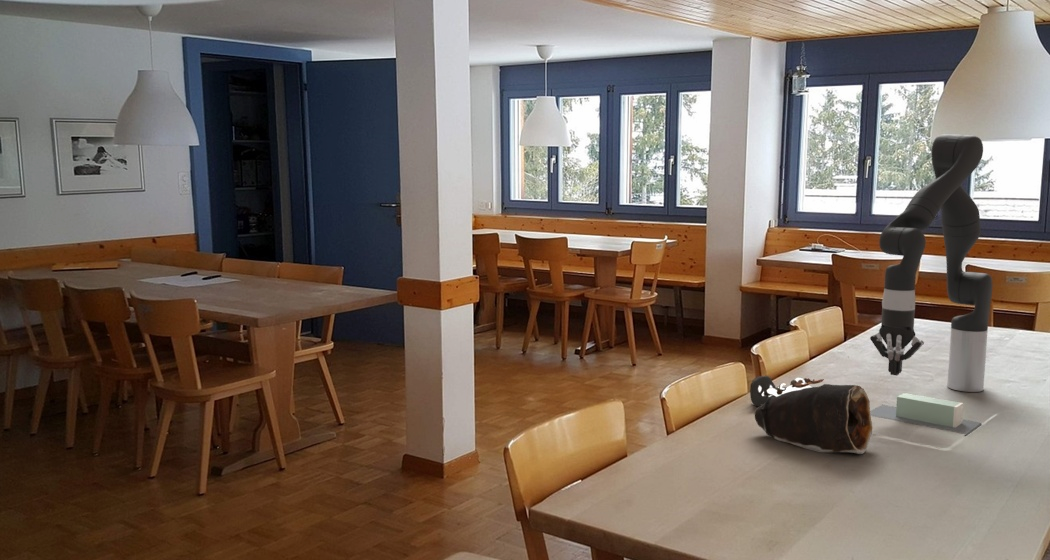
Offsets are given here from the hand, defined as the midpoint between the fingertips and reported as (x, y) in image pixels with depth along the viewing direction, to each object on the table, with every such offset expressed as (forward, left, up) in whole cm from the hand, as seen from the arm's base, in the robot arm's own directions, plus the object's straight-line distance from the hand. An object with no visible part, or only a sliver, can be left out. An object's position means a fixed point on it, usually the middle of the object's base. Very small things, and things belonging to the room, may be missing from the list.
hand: (894, 374), depth 218 cm
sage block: (0, +2, -7) cm, 8 cm away
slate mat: (0, +7, -10) cm, 13 cm away
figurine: (+13, -23, -11) cm, 29 cm away
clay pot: (+36, -6, -11) cm, 38 cm away
